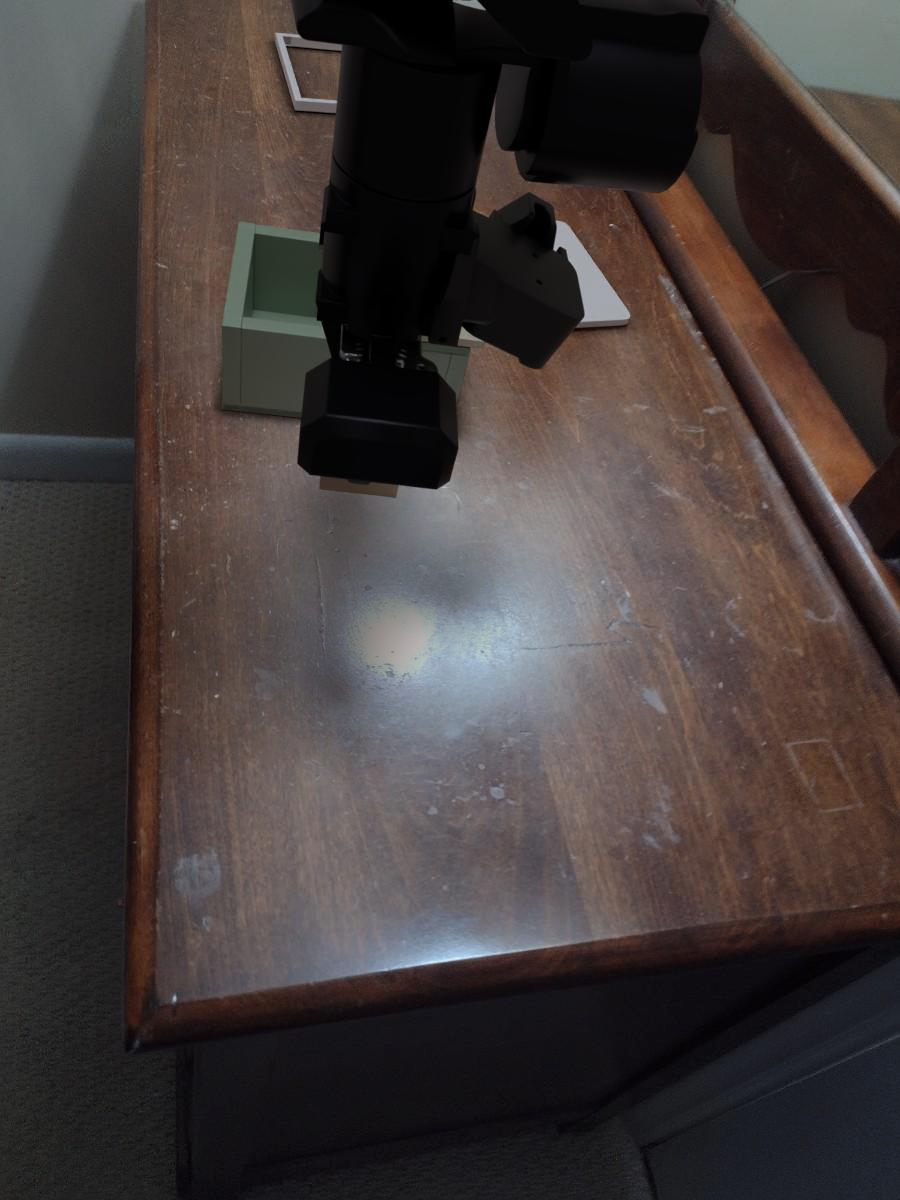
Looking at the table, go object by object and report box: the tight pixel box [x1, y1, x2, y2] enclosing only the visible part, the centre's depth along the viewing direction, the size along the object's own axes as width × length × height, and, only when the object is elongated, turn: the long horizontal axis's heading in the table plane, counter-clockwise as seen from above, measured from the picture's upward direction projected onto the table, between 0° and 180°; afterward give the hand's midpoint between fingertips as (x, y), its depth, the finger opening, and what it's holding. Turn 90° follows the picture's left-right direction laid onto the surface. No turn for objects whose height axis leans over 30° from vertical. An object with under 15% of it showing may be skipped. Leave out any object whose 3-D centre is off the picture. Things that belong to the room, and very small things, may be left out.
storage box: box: [221, 221, 472, 419], centre depth 66 cm, size 16×12×8 cm
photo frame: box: [274, 32, 342, 114], centre depth 97 cm, size 15×1×18 cm
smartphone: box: [553, 220, 631, 329], centre depth 81 cm, size 7×1×15 cm
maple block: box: [318, 476, 400, 499], centre depth 47 cm, size 4×4×4 cm
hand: (360, 452), depth 48 cm, fingers closed on maple block, 4 cm apart
